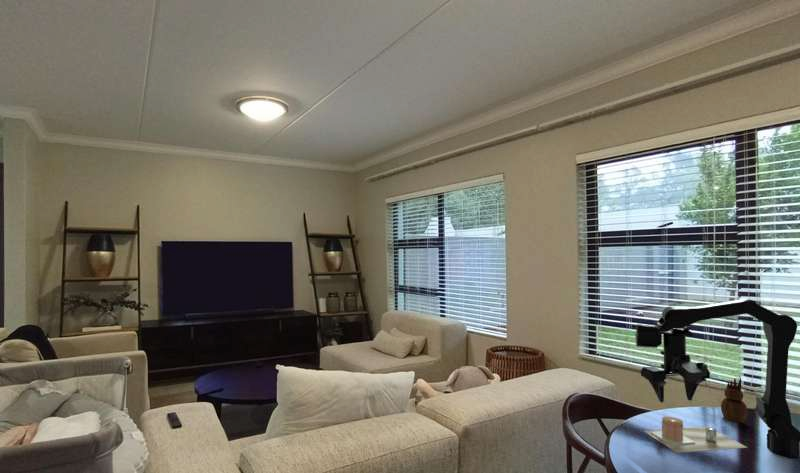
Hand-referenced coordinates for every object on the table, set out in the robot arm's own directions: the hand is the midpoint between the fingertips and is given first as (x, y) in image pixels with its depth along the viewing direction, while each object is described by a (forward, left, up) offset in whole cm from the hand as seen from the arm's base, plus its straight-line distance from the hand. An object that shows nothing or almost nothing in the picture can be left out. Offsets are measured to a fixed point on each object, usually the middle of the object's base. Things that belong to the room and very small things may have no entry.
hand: (675, 401), depth 132 cm
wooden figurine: (+9, -28, -12) cm, 32 cm away
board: (-2, -4, -12) cm, 13 cm away
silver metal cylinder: (-4, -8, -11) cm, 14 cm away
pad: (-1, +2, -11) cm, 11 cm away
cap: (-1, +2, -10) cm, 10 cm away
